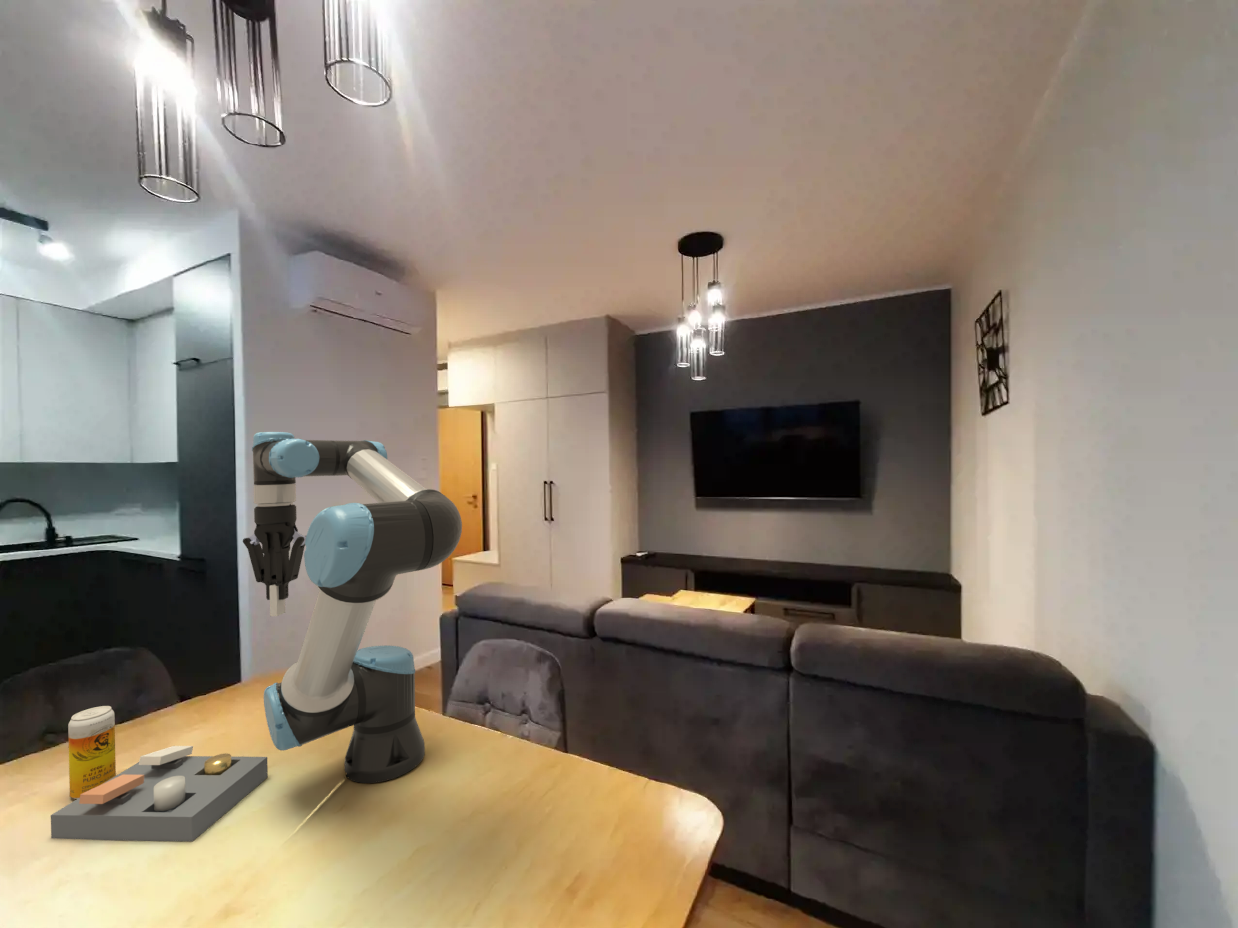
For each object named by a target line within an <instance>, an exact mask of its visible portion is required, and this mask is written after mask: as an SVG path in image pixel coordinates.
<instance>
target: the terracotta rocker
mask: <svg viewBox="0 0 1238 928" xmlns="http://www.w3.org/2000/svg"><path fill="white" fill-rule="evenodd" d="M143 783H144V775H121V776H119V777H116V778H114V779H112V780H110V781H108V782H106V783H104V784H102V785H99V786H97V787H95V788H93V789H91V790H89V791H87V792H85V793H82V794H80V801H79V804H104V803H106V802H108V801H110V800H111V799H113V798H115V797H117V796H119V795H121V794H123V793H125V792H127V791H129V790H131V789H133V788H135V787H137V786H139V785H141V784H143Z"/></svg>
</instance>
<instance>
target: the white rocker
mask: <svg viewBox="0 0 1238 928" xmlns="http://www.w3.org/2000/svg"><path fill="white" fill-rule="evenodd" d="M193 747H194V745H172V746H169V747H166V748H162V749H159V750H155V751H153V752H149V753H147V754H144V755H141V756H139V760H138V762H139V765H161V764H164V763H167V762H170V761H173V760H176V759H179V758H181V757H184V756H191V755H192V754H193Z"/></svg>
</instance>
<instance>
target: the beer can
mask: <svg viewBox="0 0 1238 928" xmlns="http://www.w3.org/2000/svg"><path fill="white" fill-rule="evenodd" d="M115 715H116V714H115V711H114V710H113V709H112V706H110V705H102V706H101V705H100V706H96V707H91V708H88V709H85V710H84V709H83V710H81V711H79V712H76V713H75V714H73V715H72V716H71V718H70V721H69V722H68V726H67V728H68V768H69V769H68V775H69V797H70V798H72V799H74V800H75V799H78V798H80V794H82V793H85V792H87V791H89V790H91V789H93V788H95V787H97V786H99V785H101V784H103V783H105V782H106V781H108V780H110V779H111V778H113V777H115V776H116V775H117V773H116V771H117V770H116V769H117V767H116V765H117V764H116V761H117V760H116V724H115V721H116V719H115Z"/></svg>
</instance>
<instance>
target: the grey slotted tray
mask: <svg viewBox="0 0 1238 928" xmlns="http://www.w3.org/2000/svg"><path fill="white" fill-rule="evenodd" d="M211 757H213V755H211V756H210V755H209V756H207V755H202V756H201V755H197V756H196V755H187V756H184V757H181V758H179V759H176V760H173V761H170V762H167V763H164V764H161V765H139V761H138V762H136V763H134V764H133V765H131V766H130V767H128V768H126V769H125V770H124V771H121V772H120V773H118V774H116V776H115V777H113V778H111V779H110V780H112V779H114V778H116V777H119V776H121V775H144V783H143V784H141V785H139V786H137V787H135V788H133V789H131V790H129V791H127V792H125V793H123V794H121V795H119V796H117V797H115V798H113V799H111V800H110V801H108V802H106V803H104V804H79V801H80V798H78V799H77V800H75V799H74V801H72V802H70V803H68V804H67V805H65V806H63V807H62V808H60V809H59V810H56V811H55V812H53V813H52V814H50V839H57V840H58V839H61V840H66V839H67V840H90V841H92V840H93V841H131V842H133V841H135V842H137V841H138V842H139V841H140V842H141V841H142V842H146V841H147V842H194V841H195V840H196V839H197V838H198V837H200V836H201V835H202V834H203V833H204V832H205V831H207V830H208V829H209V828H210V827H211V826H212V825H214V824H215V822H217V821H218V820H219V819H220V818H222V817H223V816H224V815H225V814H226V813H227V812H229V811H230V810H231V809H232V808H233V807H235V806H236V805H237V804H238V803H240V801H242V800H243V799H244V798H245V797H247V796H248V795H249V794H250V793H251V792H252V791H253V790H254V789H256V788H257V787H258V786H259V785H261V784H262V783H263V781H266V780H267V779H268V776H269V775H268V756H232V755H231V767H230V768H229V769H228V770H227V771H225V772H224V773H223V774H221V775H205V771H204V763H205V761H206V760H208V759H209V758H211ZM173 776H184V777H185V800H184V802H183V803H181V804H180V805H178V806H176V807H174V808H172V809H169V810H166V811H155V810H154V786H155V785H156V784H157V783H159V782H160V781H162V780H164V779H167V778H170V777H173ZM110 780H108V781H110ZM108 781H106V782H108ZM106 782H105V783H106ZM103 784H104V783H103ZM101 785H102V784H101Z"/></svg>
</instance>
